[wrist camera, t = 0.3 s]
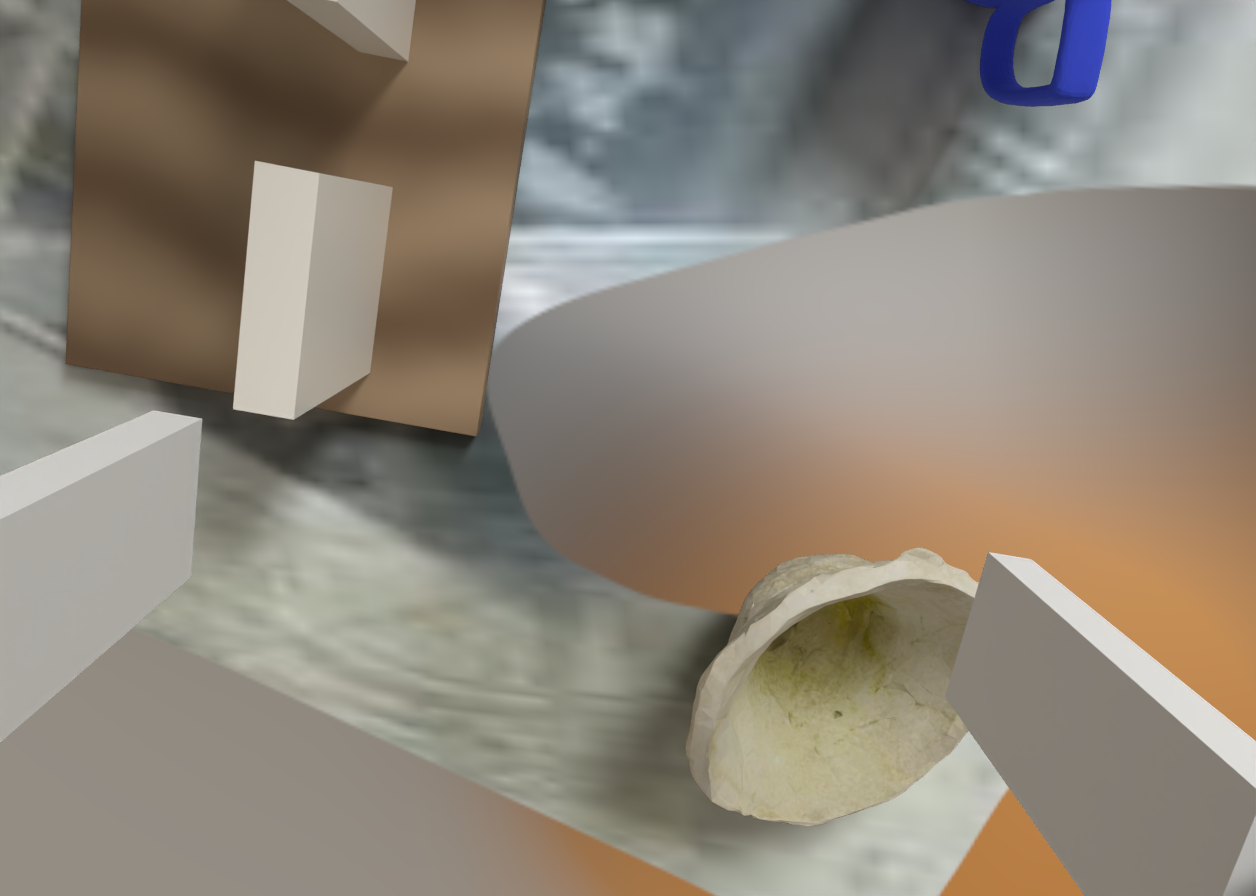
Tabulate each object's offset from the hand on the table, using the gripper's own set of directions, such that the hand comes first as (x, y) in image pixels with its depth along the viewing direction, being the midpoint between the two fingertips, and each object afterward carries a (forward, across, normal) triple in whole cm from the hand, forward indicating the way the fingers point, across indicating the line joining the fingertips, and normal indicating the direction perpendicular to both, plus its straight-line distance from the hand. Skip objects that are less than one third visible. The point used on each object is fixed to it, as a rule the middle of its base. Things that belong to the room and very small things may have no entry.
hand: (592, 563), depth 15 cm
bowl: (+27, +13, -12) cm, 32 cm away
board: (+27, -14, +8) cm, 31 cm away
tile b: (+26, -11, +1) cm, 28 cm away
